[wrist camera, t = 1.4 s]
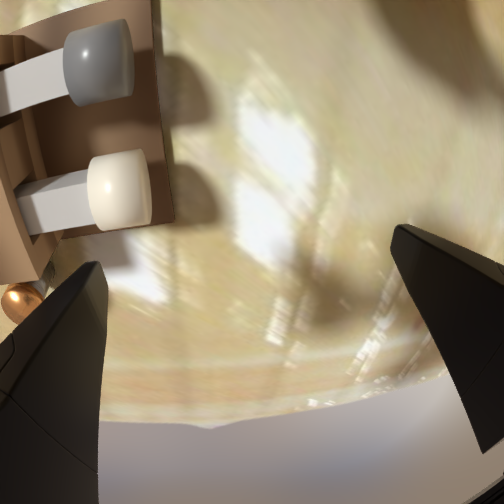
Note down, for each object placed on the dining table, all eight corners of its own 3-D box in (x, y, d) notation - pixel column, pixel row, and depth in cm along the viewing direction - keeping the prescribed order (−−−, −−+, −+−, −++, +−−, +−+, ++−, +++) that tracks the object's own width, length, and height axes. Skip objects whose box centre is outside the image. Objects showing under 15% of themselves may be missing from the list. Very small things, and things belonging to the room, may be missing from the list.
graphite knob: (131, 22, 12) (115, 13, 9) (137, 91, 14) (123, 101, 11) (-14, 70, 11) (-52, 80, 8) (-5, 130, 13) (-40, 151, 10)
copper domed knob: (50, 248, 20) (29, 289, 16) (65, 283, 21) (49, 326, 18) (17, 254, 19) (-7, 293, 16) (32, 287, 21) (14, 328, 17)
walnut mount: (151, -7, 12) (135, -32, 8) (174, 217, 20) (172, 271, 16) (-38, 60, 11) (-93, 73, 6) (8, 244, 19) (-23, 294, 14)
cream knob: (143, 140, 16) (132, 162, 13) (153, 203, 18) (147, 238, 15) (6, 172, 15) (-25, 200, 11) (23, 226, 17) (-1, 261, 14)
